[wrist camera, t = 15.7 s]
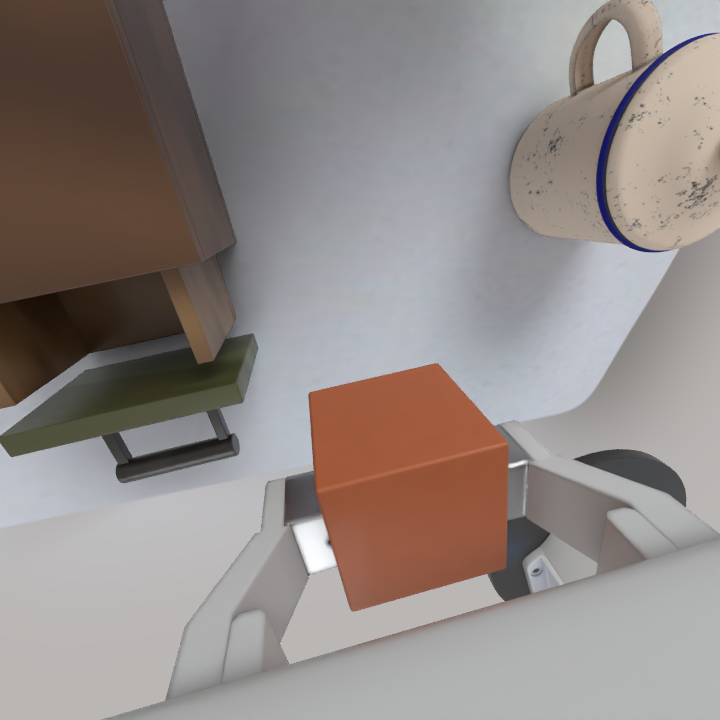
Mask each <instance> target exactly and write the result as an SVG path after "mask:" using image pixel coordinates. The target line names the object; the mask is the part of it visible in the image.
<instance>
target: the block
mask: <svg viewBox="0 0 720 720" xmlns="http://www.w3.org/2000/svg"><path fill="white" fill-rule="evenodd" d="M309 409H310V423H311V437H312V451H313V465H314V480H315V493H316V496H317V499H318V503H319V506H320V509H321V513H322V516H323V519H324V523H325V526H326V529H327V533H328V536H329V540H330V543H331V546H332V550H333V553H334V556H335V560H336V563H337V566H338V570H339V573H340V576H341V580H342V583H343V586H344V590H345V593H346V597H347V600H348V603H349V607H350V609H351V611H358V610H361V609H365V608H368V607H372V606H375V605H379V604H382V603H385V602H389V601H393V600H396V599H400V598H404V597H407V596H411V595H414V594H417V593H421V592H425V591H428V590H431V589H435V588H439V587H442V586H446V585H449V584H453V583H456V582H460V581H463V580H467V579H470V578H474V577H477V576H481V575H485V574H488V573H492V572H495V571H499V570H502V569H505V568H506V561H507V511H508V460H509V444H508V442H507V440H506V439H505V438H504V437H503V436H502V435H501V434H500V433H499V431H498V430H497V429H496V428H495V427H494V426H493V425H492V424H491V422H490V421H489V420H488V419H487V418H486V417H485V416H484V415H483V413H482V412H481V411H480V410H479V409H478V408H477V407H476V406H475V405H474V403H473V402H472V401H471V400H470V399H469V398H468V397H467V396H466V394H465V393H464V392H463V391H462V390H461V389H460V388H459V387H458V385H457V384H456V383H455V382H454V381H453V380H452V379H451V378H450V376H449V375H448V374H447V373H446V372H445V371H444V370H443V369H442V367H441V366H440V365H439V364H436V363H435V364H431V365H427V366H422V367H418V368H414V369H409V370H405V371H400V372H396V373H392V374H387V375H383V376H379V377H374V378H370V379H366V380H361V381H357V382H353V383H348V384H344V385H339V386H335V387H331V388H326V389H322V390H318V391H313V392H310V393H309Z"/></svg>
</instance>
